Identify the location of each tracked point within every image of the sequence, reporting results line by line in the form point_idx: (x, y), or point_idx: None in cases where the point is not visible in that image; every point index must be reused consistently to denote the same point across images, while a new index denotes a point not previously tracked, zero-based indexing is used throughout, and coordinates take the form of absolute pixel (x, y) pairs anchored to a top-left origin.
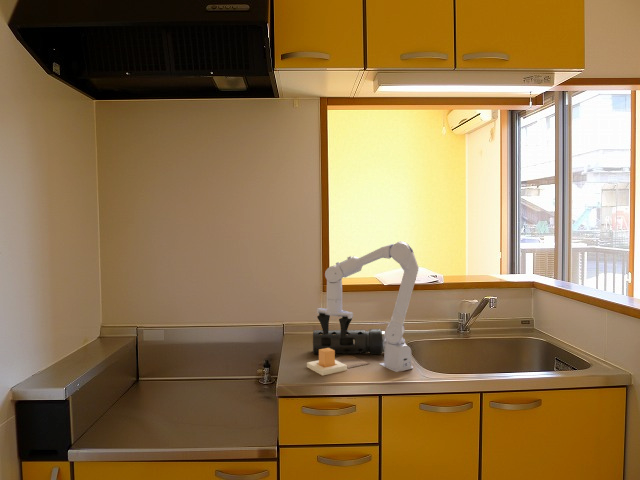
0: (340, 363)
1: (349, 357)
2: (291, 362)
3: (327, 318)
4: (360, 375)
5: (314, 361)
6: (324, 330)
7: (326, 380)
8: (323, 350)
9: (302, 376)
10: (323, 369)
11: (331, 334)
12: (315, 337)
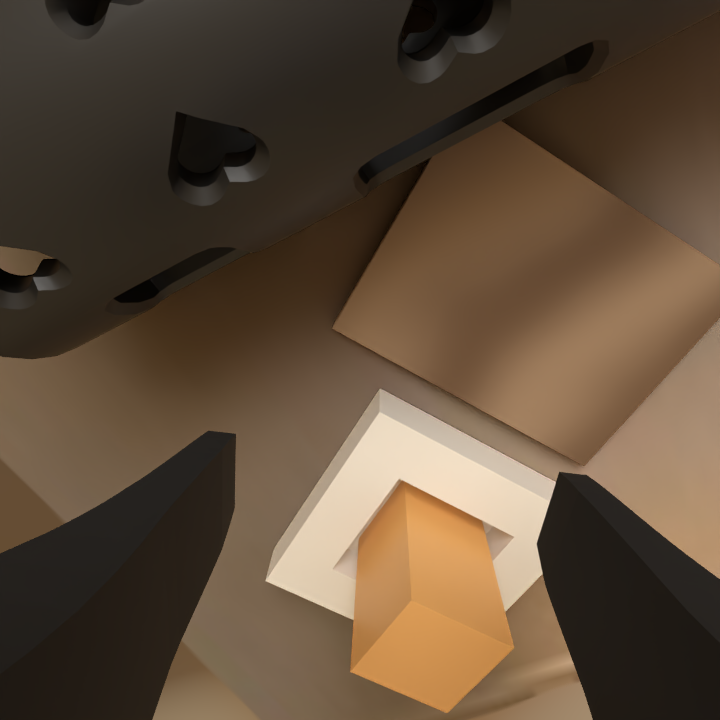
0: (523, 506)
1: (496, 198)
2: (95, 495)
3: (88, 697)
4: (698, 524)
5: (302, 543)
6: (210, 572)
7: (500, 661)
8: (407, 679)
9: (335, 661)
10: None
11: (188, 202)
12: (25, 343)
